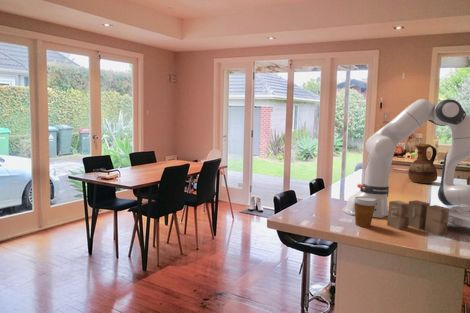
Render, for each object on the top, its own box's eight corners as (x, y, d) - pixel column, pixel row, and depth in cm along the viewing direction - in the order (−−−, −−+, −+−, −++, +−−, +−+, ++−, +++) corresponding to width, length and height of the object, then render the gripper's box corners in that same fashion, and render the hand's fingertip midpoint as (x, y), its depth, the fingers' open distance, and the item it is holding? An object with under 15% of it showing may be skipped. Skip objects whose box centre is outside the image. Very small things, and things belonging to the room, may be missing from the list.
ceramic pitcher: (402, 179, 297) (406, 142, 294) (426, 180, 299) (430, 143, 296) (417, 184, 278) (421, 144, 274) (442, 185, 280) (446, 145, 277)
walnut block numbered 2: (395, 224, 169) (398, 200, 168) (407, 228, 164) (410, 203, 163) (386, 225, 166) (388, 201, 165) (398, 229, 161) (400, 204, 160)
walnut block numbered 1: (414, 223, 171) (417, 200, 170) (426, 227, 166) (429, 203, 165) (406, 225, 168) (408, 201, 167) (418, 229, 163) (420, 204, 162)
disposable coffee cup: (350, 226, 162) (353, 199, 161) (352, 220, 171) (354, 195, 170) (374, 229, 159) (376, 202, 158) (374, 223, 168) (376, 197, 167)
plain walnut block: (432, 229, 163) (435, 205, 162) (446, 233, 158) (449, 208, 157) (424, 231, 160) (427, 206, 159) (438, 235, 155) (441, 209, 154)
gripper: (437, 203, 176) (419, 206, 169) (484, 215, 158) (465, 218, 151) (436, 216, 177) (417, 219, 170) (482, 229, 159) (463, 233, 152)
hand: (440, 219), depth 160 cm, fingers closed, pressing on plain walnut block
